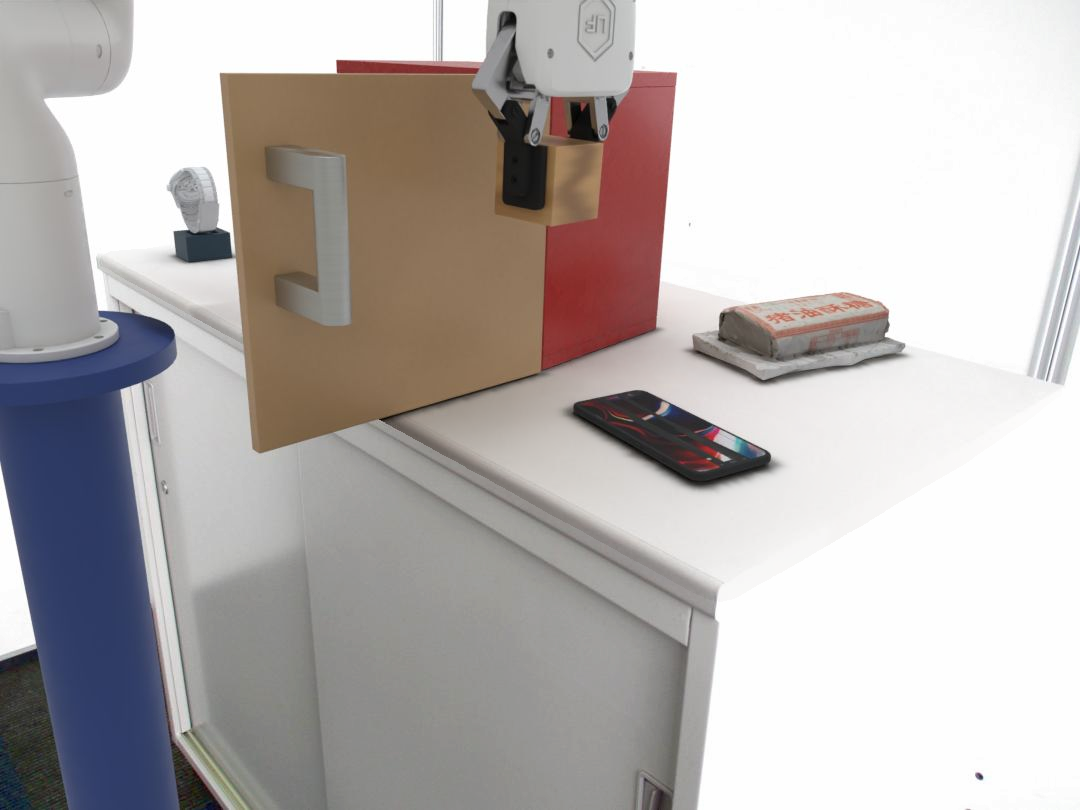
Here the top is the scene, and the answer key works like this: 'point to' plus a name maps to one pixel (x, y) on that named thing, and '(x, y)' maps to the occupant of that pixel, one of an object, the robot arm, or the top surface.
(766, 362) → the packaged product
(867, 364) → the top surface
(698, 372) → the top surface
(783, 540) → the top surface
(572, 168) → the oak block
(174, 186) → the watch
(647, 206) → the cabinet
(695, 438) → the smartphone
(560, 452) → the top surface
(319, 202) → the cabinet door
